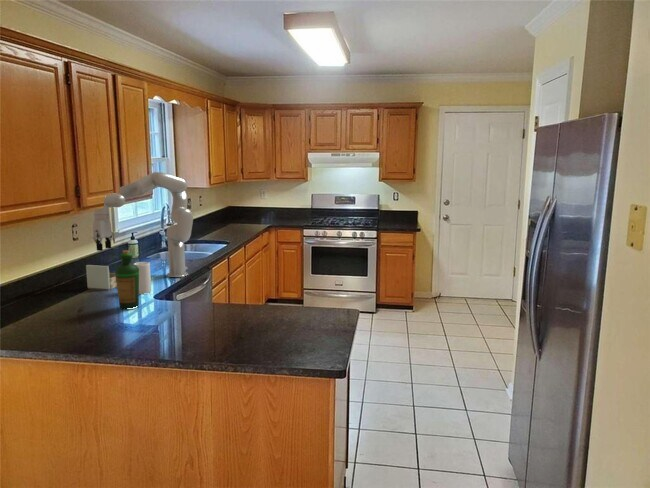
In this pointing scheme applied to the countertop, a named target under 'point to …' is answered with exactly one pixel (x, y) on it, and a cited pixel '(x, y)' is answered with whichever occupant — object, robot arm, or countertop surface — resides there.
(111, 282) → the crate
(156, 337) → the countertop surface
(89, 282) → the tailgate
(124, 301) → the bottle
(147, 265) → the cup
